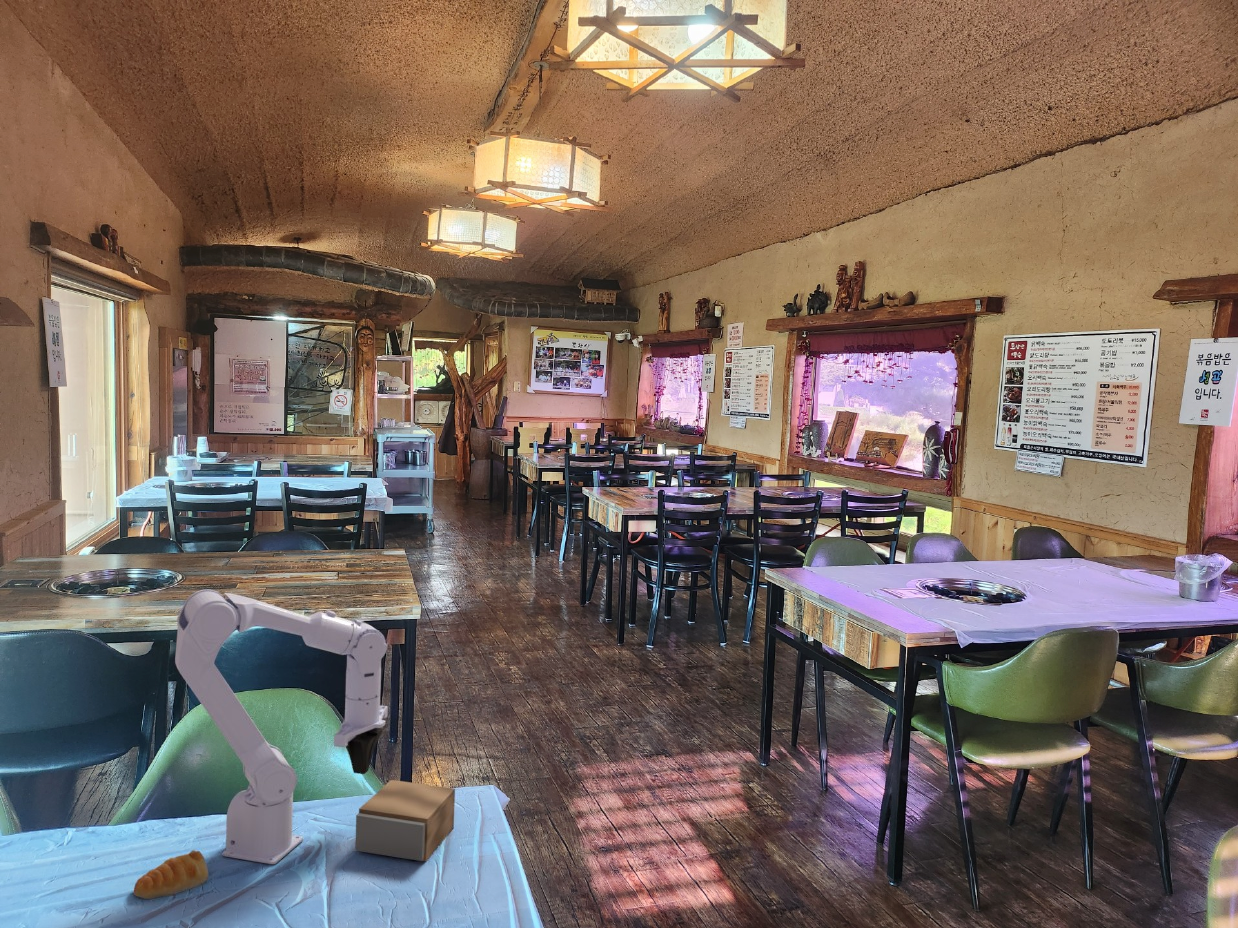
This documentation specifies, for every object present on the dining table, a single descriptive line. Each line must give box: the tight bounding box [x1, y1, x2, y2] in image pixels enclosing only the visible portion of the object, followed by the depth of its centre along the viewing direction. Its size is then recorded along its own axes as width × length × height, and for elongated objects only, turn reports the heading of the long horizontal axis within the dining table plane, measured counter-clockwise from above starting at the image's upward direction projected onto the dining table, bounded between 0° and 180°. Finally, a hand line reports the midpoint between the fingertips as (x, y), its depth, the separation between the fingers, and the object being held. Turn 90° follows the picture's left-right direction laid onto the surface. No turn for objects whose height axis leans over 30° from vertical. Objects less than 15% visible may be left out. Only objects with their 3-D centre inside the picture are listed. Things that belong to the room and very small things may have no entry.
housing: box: [358, 779, 456, 863], centre depth 133 cm, size 11×12×7 cm
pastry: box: [133, 849, 210, 900], centre depth 117 cm, size 9×7×4 cm
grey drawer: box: [354, 812, 425, 862], centre depth 131 cm, size 11×12×6 cm
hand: (360, 771), depth 136 cm, fingers closed
